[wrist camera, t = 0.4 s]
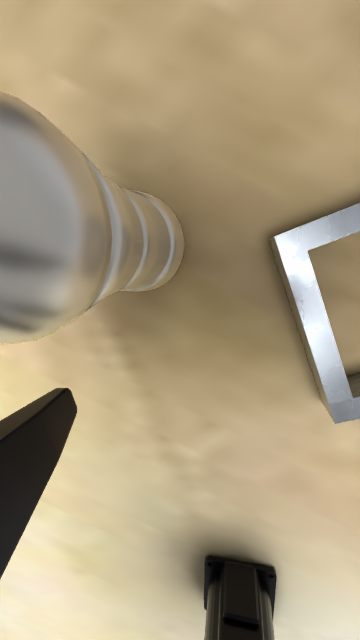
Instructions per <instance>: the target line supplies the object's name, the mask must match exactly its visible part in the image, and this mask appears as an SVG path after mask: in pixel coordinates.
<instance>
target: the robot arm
mask: <svg viewBox="0 0 360 640" xmlns="http://www.w3.org/2000/svg"><path fill="white" fill-rule="evenodd" d="M76 414H77V406H76V403H75V400H74V398H73V395H72V392H71V390H70V389H68V388H56V389H54V390H52V391H51V392H49V393H47V394H45V395H44V396H42V397H40V398H39V399H37V400H35V401H33V402H32V403H30V404H28V405H27V406H25V407H23V408H21V409H20V410H18V411H16V412H15V413H13V414H11V415H9V416H8V417H6V418H4V419H3V420H1V421H0V579H1V577H2V575H3V573H4V571H5V569H6V567H7V565H8V562H9V560H10V558H11V556H12V554H13V552H14V550H15V548H16V546H17V544H18V542H19V540H20V538H21V536H22V534H23V532H24V530H25V528H26V526H27V524H28V522H29V520H30V518H31V516H32V514H33V512H34V509H35V507H36V505H37V503H38V501H39V499H40V497H41V495H42V493H43V491H44V489H45V487H46V485H47V483H48V481H49V479H50V477H51V475H52V473H53V471H54V469H55V467H56V465H57V462H58V460H59V458H60V456H61V453H62V451H63V448H64V446H65V443H66V440H67V438H68V435H69V432H70V430H71V427H72V425H73V422H74V419H75V417H76ZM276 578H277V577H276V571H275V569H274V568H272V567H267V566H262V565H256V564H251V563H246V562H240V561H235V560H230V559H224V558H219V557H214V556H207V557H206V558H205V583H204V608H205V610H207V613H206V626H205V638H204V640H274V630H273V612H274V601H275V589H276Z"/></svg>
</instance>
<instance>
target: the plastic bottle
mask: <svg viewBox="0 0 360 640" xmlns="http://www.w3.org/2000/svg"><path fill="white" fill-rule="evenodd" d="M183 252H184V237H183V232H182V228H181V226H180V223H179V221H178V219H177V217H176V216H175V214H174V213H173V211H172V210H171V209H170V208H169V207H168V206H167V205H166V204H165V203H164V202H163V201H161V200H160V199H158V198H157V197H155V196H153V195H150V194H148V193H144V192H140V191H135V190H126V189H123V188H120V187H119V186H117V185H116V184H115V183H114V182H112V181H111V180H110V179H108V178H107V177H106V176H104V175H103V174H102V173H101V172H100V171H99V169H98V168H97V167H96V166H95V165H94V164H93V163H92V162H91V161H90V160H89V159H88V158H87V157H86V156H85V155H84V154H83V153H82V152H81V151H80V149H79V148H78V147H77V146H76V145H75V144H74V143H73V142H72V141H71V140H70V139H69V138H68V137H67V136H66V135H65V134H64V133H63V132H62V131H61V130H60V129H58V128H57V127H56V126H55V125H54V124H52V123H51V122H50V121H49V120H48V119H47V118H46V117H44V116H43V115H42V114H41V113H40V112H38V111H37V110H35V109H34V108H32V107H31V106H29V105H28V104H26V103H25V102H23V101H22V100H20V99H19V98H17V97H14V96H11V95H9V94H6V93H3V92H1V91H0V344H13V343H22V342H28V341H34V340H37V339H40V338H42V337H44V336H47V335H49V334H52V333H54V332H55V331H57V330H59V329H60V328H62V327H64V326H66V325H68V324H69V323H71V322H72V321H74V320H75V319H76V318H78V317H79V316H80V315H82V314H83V313H84V312H85V311H87V310H88V309H89V308H91V307H92V306H93V305H95V304H96V303H97V302H99V301H100V300H101V299H103V298H105V297H107V296H109V295H111V294H113V293H115V292H117V291H136V292H140V291H149V290H154V289H156V288H158V287H161V286H162V285H164V284H165V283H167V282H168V281H169V280H170V279H171V278H172V277H173V276H174V275H175V273H176V271H177V270H178V268H179V266H180V263H181V261H182V258H183Z"/></svg>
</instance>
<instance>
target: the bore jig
mask: <svg viewBox="0 0 360 640" xmlns="http://www.w3.org/2000/svg"><path fill="white" fill-rule="evenodd" d="M359 231H360V203H358V204H355V205H353V206H350V207H348V208H345V209H343V210H340V211H338V212H335V213H333V214H330V215H328V216H325V217H322V218H320V219H317V220H315V221H312V222H310V223H307V224H305V225H302V226H300V227H297V228H295V229H292V230H290V231H287V232H284V233H282V234H279V235H277V236H274V237H272V238H270V239H269V242H270V245H271V248H272V251H273V254H274V257H275V260H276V263H277V266H278V269H279V272H280V275H281V279H282V282H283V285H284V288H285V291H286V294H287V297H288V300H289V303H290V306H291V309H292V312H293V315H294V318H295V321H296V324H297V327H298V330H299V333H300V336H301V339H302V342H303V346H304V349H305V352H306V355H307V358H308V361H309V364H310V367H311V370H312V373H313V376H314V379H315V382H316V385H317V388H318V391H319V394H320V397H321V400H322V402H323V404H324V406H325V407H326V409H327V411H328V413H329V414H330V416H331V418H332V419H333V421H334V423H335V424H336V423H341V422H346V421H350V420H355V419H360V373H358V374H354V375H350V376H346V374H345V371H344V368H343V364H342V361H341V358H340V355H339V352H338V348H337V345H336V342H335V339H334V335H333V332H332V329H331V326H330V323H329V319H328V316H327V313H326V310H325V306H324V303H323V300H322V297H321V294H320V290H319V287H318V284H317V281H316V277H315V274H314V271H313V268H312V264H311V261H310V258H309V255H308V252H307V251H308V250H311V249H313V248H316V247H319V246H321V245H324V244H327V243H330V242H332V241H335V240H338V239H340V238H343V237H346V236H348V235H351V234H354V233H357V232H359Z"/></svg>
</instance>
